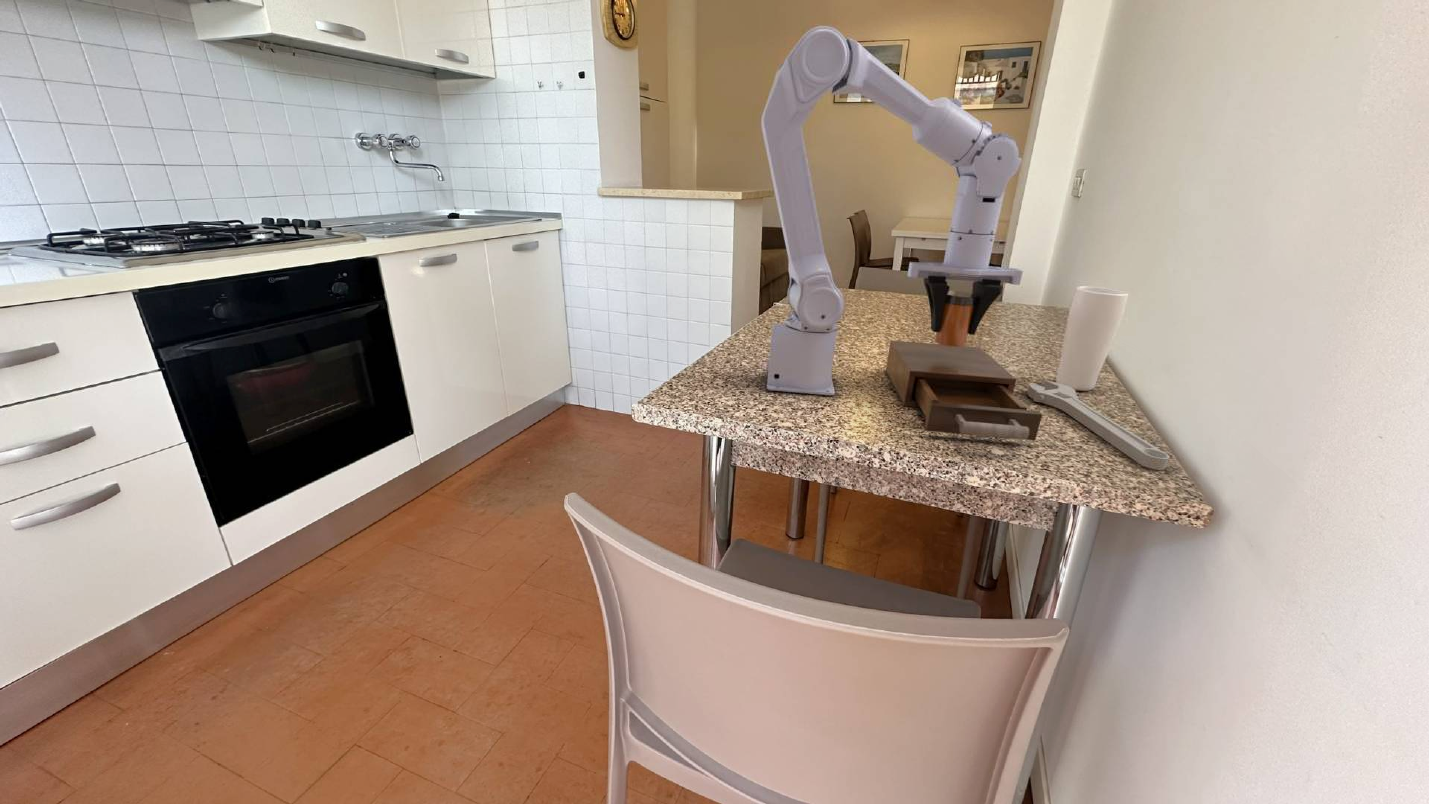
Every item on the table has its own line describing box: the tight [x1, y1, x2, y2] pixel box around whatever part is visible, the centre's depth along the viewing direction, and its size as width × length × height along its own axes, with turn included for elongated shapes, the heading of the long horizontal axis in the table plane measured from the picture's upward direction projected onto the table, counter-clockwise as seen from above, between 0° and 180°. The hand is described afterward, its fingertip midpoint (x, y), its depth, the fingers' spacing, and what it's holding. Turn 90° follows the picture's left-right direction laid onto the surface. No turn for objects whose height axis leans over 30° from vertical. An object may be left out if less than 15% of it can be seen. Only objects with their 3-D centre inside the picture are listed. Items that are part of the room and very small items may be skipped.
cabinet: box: [885, 340, 1018, 408], centre depth 83 cm, size 16×14×5 cm
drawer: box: [912, 377, 1043, 441], centre depth 71 cm, size 18×12×3 cm
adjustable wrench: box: [1026, 380, 1170, 471], centre depth 74 cm, size 25×6×2 cm, turn 176°
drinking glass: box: [1055, 285, 1130, 392], centre depth 86 cm, size 7×7×15 cm
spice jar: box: [934, 290, 977, 347], centre depth 81 cm, size 4×4×7 cm
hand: (951, 331), depth 81 cm, fingers closed on spice jar, 4 cm apart
